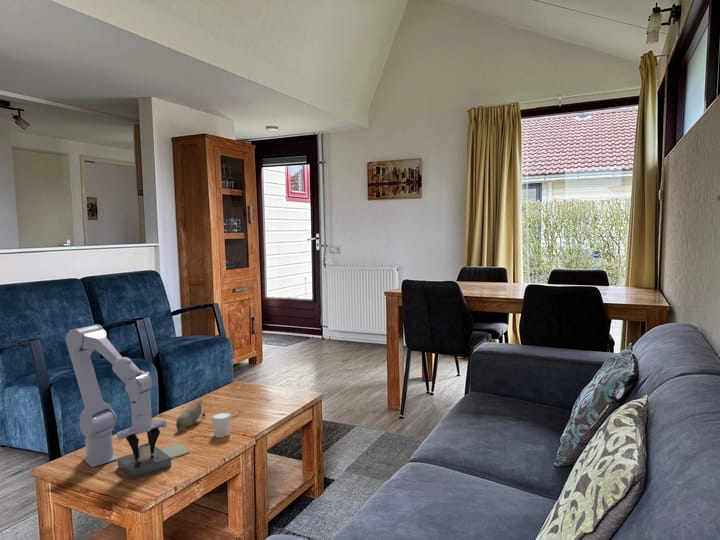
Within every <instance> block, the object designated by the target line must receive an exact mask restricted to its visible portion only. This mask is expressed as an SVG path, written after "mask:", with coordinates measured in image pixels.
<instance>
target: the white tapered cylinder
mask: <svg viewBox="0 0 720 540" xmlns="http://www.w3.org/2000/svg"><path fill="white" fill-rule="evenodd" d="M231 421H232V414H231V413H229V412H218V413H214V414H212V415H211V422H212V423H211V424H212V428H213V429H212V430H213V435H215V436H216V437H215V436H214V437H215V438H225V437H224V436H226V437H228V436H229V434H230V435H231V428H232V427H231V426H232V425H231V424H232V423H231ZM227 435H228V436H227Z"/></svg>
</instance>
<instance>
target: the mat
mask: <svg viewBox="0 0 720 540" xmlns="http://www.w3.org/2000/svg"><path fill="white" fill-rule="evenodd" d="M159 449H160V450H161V451H163V452H164V453H165V454H167V455H168V456H170V457H171V460H172V459H176V458H179V457H181V456H184V455H187V454H190V453H191V452H190V451H189V450H188V449H186V447H183V446H182V445H180V444H179V443H177V444H174V445H171V446H167V447H164V448H162V449H161V448H159Z"/></svg>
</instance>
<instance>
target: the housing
mask: <svg viewBox="0 0 720 540" xmlns="http://www.w3.org/2000/svg"><path fill="white" fill-rule="evenodd" d="M160 449H161V448H159V447H157V446H155V448H154V453H153V454H151V459H150V460H147V461H144V462H137V459H136V458H135V457H134V454H133V453H131V454H127V455H124V456H120V457H117V458H118V459H117V468H118V470H120V471H121V472H122V473H123V474H124V475H126V477H128V478H129V479H130V480H131V481H133V480H136V479H139V478H142V477H146V476H149V475H151V474H154V473H157V472H160V471H163V470H166V469H169V468H172V459H171V457H170V456H168V455H167V454H165V453H164V452H163V451H161V450H160Z"/></svg>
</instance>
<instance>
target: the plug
mask: <svg viewBox="0 0 720 540" xmlns="http://www.w3.org/2000/svg"><path fill="white" fill-rule="evenodd" d="M138 452H139V458H137V462H144V461H147V460H150V459H151V448H150V443H148V442H143V443H140V444H139V443H138Z"/></svg>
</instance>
